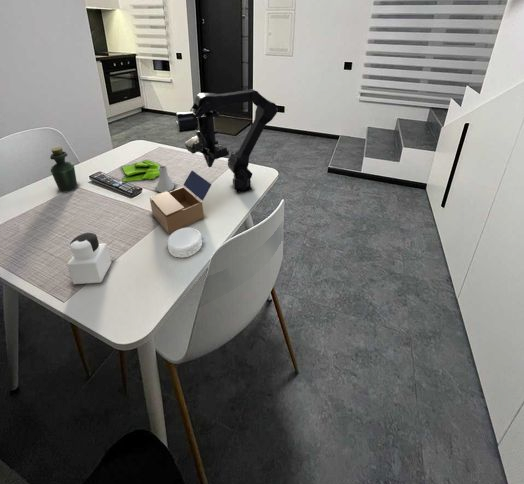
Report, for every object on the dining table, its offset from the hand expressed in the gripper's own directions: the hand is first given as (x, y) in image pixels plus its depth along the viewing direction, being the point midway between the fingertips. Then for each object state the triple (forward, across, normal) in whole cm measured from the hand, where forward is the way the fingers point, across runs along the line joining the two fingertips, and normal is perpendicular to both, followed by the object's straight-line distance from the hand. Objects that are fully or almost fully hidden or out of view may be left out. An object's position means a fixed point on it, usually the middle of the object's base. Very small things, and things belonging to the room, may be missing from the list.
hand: (210, 166), depth 109 cm
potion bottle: (+13, -45, -42) cm, 64 cm away
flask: (+13, -18, -12) cm, 25 cm away
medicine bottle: (+13, +12, -45) cm, 49 cm away
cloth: (+13, -41, -13) cm, 45 cm away
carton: (+13, +3, -16) cm, 21 cm away
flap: (+3, +3, -8) cm, 9 cm away
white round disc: (+13, +19, -21) cm, 32 cm away
